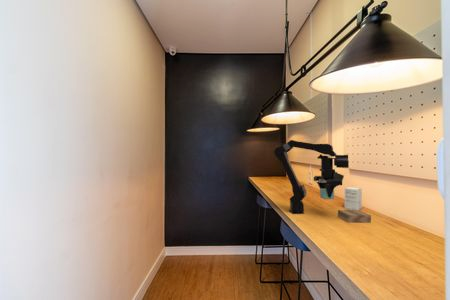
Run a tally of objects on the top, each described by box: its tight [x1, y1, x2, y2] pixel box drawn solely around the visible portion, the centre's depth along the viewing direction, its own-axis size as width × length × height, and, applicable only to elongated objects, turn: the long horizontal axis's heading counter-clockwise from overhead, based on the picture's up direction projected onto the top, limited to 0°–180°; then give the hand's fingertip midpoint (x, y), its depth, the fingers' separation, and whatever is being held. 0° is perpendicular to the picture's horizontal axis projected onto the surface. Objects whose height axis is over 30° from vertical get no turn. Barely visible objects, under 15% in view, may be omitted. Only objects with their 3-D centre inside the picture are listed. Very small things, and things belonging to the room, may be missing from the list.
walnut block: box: [337, 209, 372, 224], centre depth 114 cm, size 11×10×4 cm
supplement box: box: [344, 186, 363, 211], centre depth 136 cm, size 7×7×13 cm
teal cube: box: [319, 188, 335, 200], centre depth 120 cm, size 5×5×5 cm
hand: (326, 196), depth 120 cm, fingers closed on teal cube, 5 cm apart
